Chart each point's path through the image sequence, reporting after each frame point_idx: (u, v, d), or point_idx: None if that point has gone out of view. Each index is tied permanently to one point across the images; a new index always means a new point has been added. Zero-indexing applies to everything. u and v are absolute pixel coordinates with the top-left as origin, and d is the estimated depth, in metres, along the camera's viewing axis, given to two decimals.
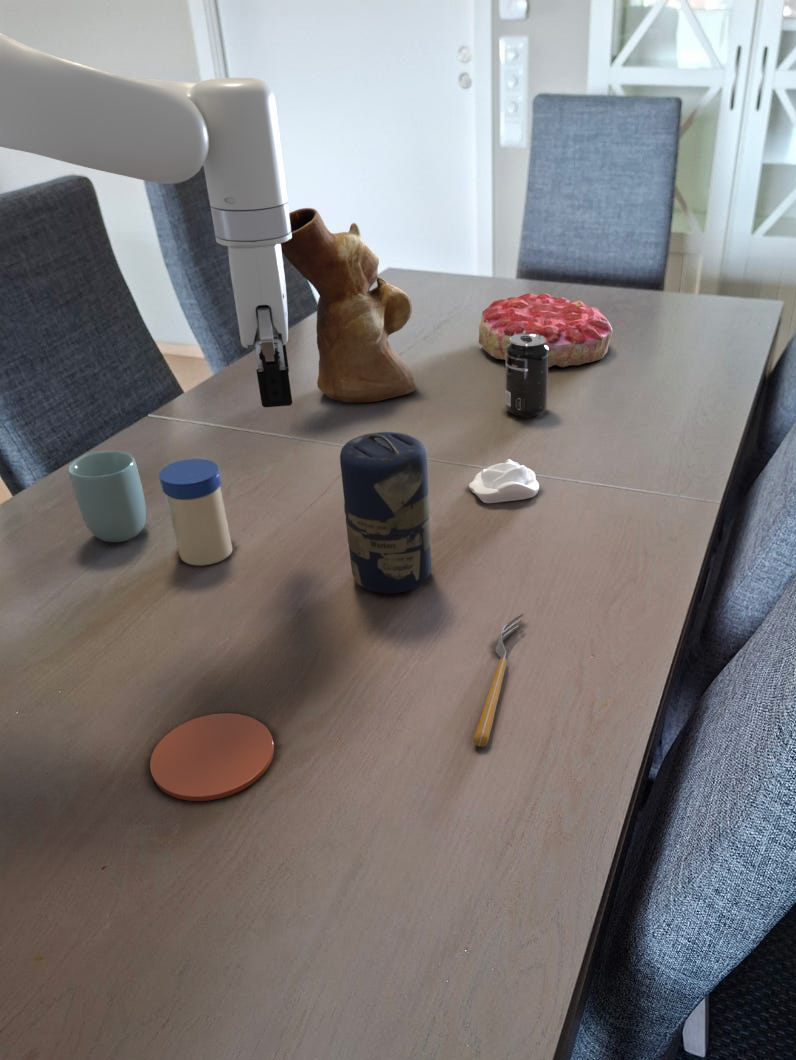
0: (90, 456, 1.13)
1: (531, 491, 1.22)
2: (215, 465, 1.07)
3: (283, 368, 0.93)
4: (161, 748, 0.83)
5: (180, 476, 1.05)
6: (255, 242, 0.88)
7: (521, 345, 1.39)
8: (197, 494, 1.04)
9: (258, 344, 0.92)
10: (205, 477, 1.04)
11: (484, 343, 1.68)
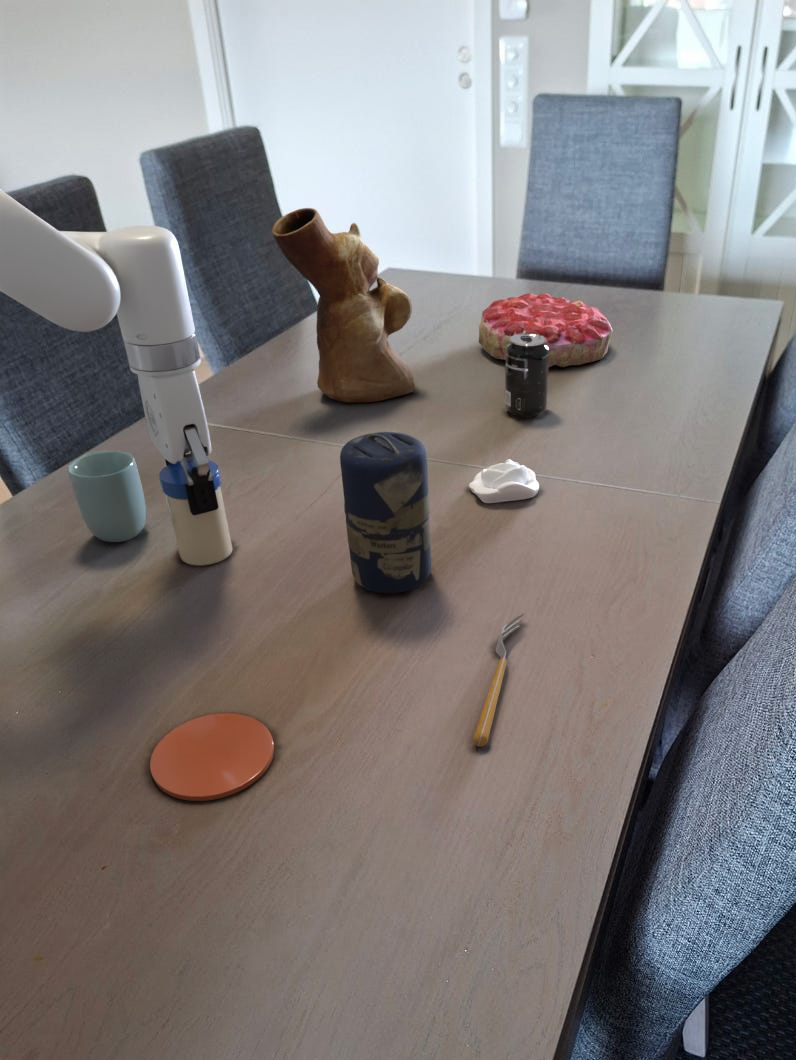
0: (90, 456, 1.13)
1: (531, 491, 1.22)
2: (215, 465, 1.07)
3: (211, 480, 1.03)
4: (161, 748, 0.83)
5: (180, 476, 1.05)
6: (176, 370, 0.96)
7: (521, 345, 1.39)
8: None
9: (185, 461, 1.01)
10: None
11: (484, 343, 1.68)
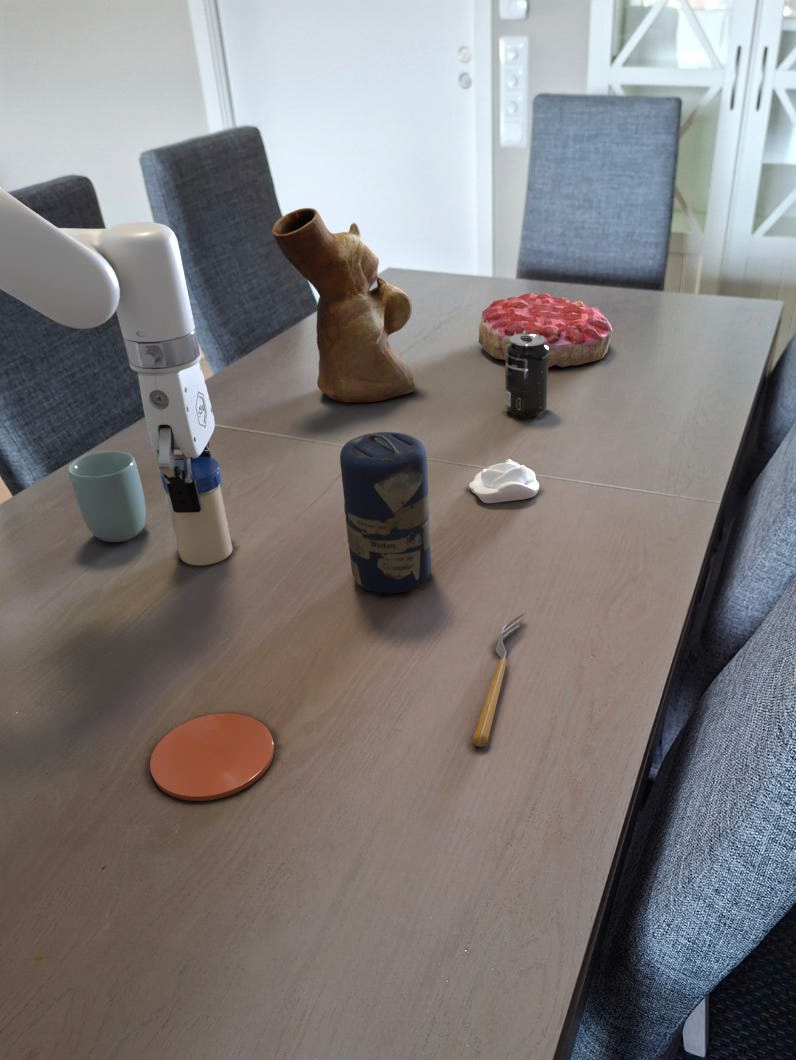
0: (90, 456, 1.13)
1: (531, 491, 1.22)
2: None
3: None
4: (161, 748, 0.83)
5: (201, 464, 1.07)
6: None
7: (521, 345, 1.39)
8: None
9: None
10: None
11: (484, 343, 1.68)
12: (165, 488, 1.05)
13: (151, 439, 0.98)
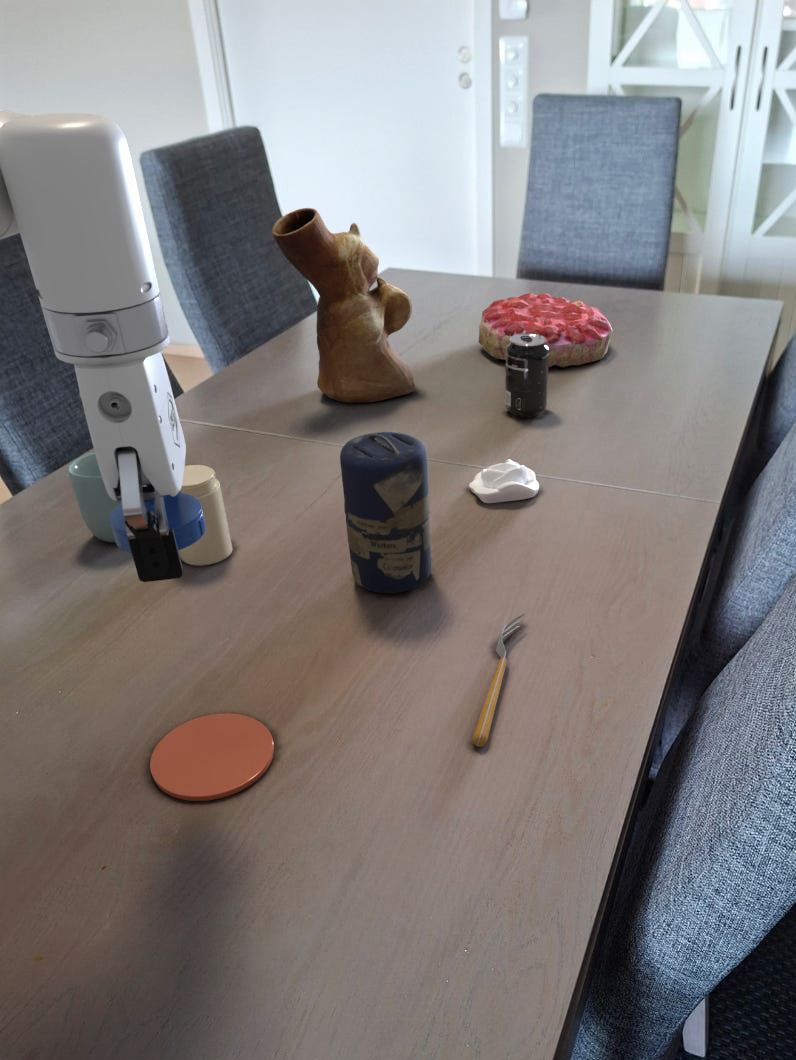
0: (90, 456, 1.13)
1: (531, 491, 1.22)
2: (113, 514, 0.69)
3: None
4: (161, 748, 0.83)
5: (173, 504, 0.70)
6: None
7: (521, 345, 1.39)
8: None
9: None
10: None
11: (484, 343, 1.68)
12: (123, 546, 0.68)
13: (103, 472, 0.62)
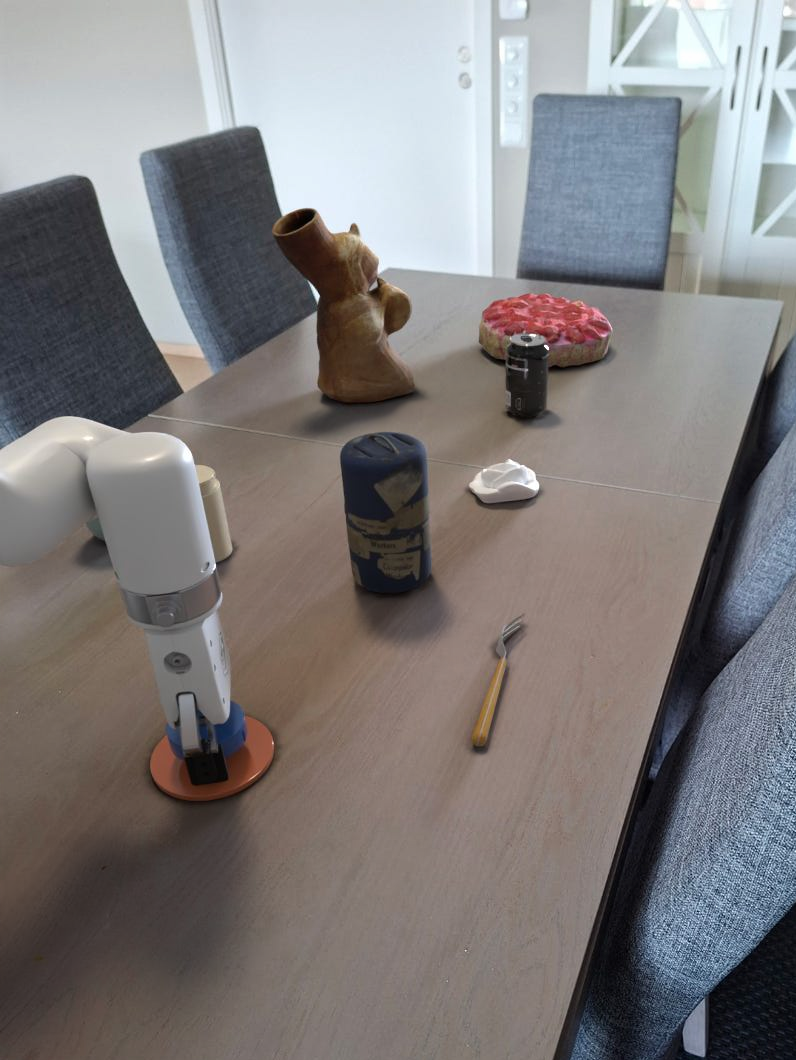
0: None
1: (531, 491, 1.22)
2: None
3: None
4: (161, 748, 0.83)
5: None
6: None
7: (521, 345, 1.39)
8: None
9: None
10: None
11: (484, 343, 1.68)
12: (177, 755, 0.79)
13: (165, 710, 0.73)
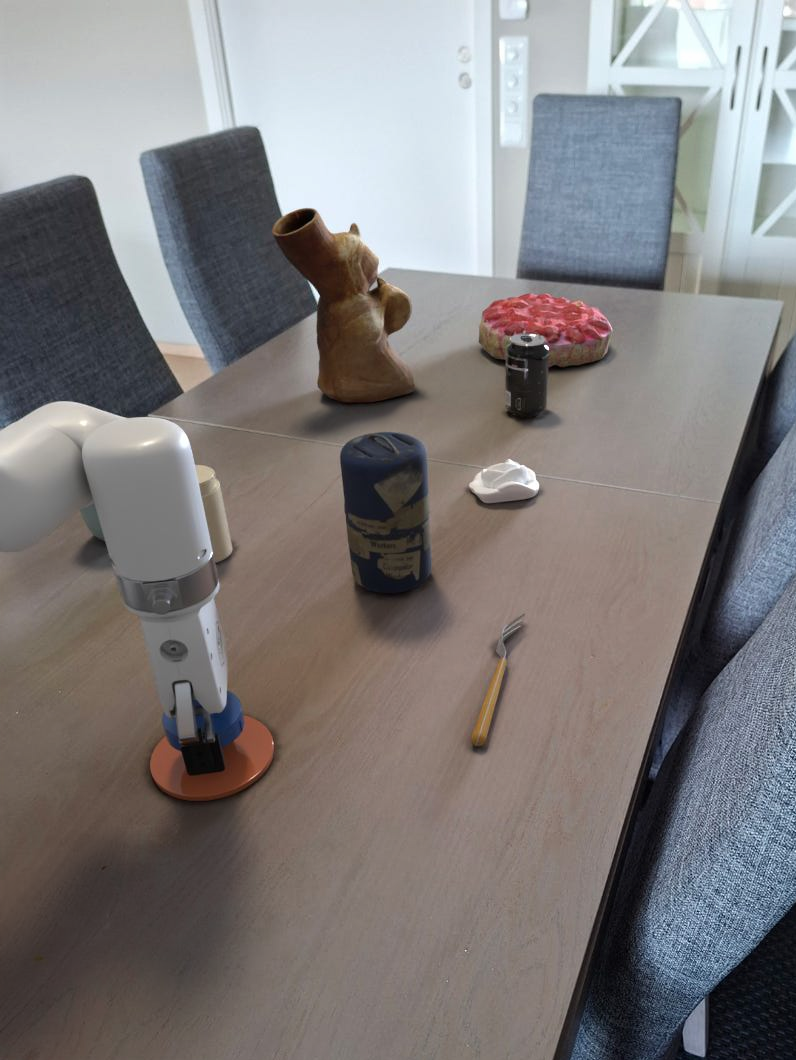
0: None
1: (531, 491, 1.22)
2: None
3: None
4: (161, 748, 0.83)
5: None
6: None
7: (521, 345, 1.39)
8: None
9: None
10: None
11: (484, 343, 1.68)
12: (174, 745, 0.78)
13: (161, 698, 0.72)
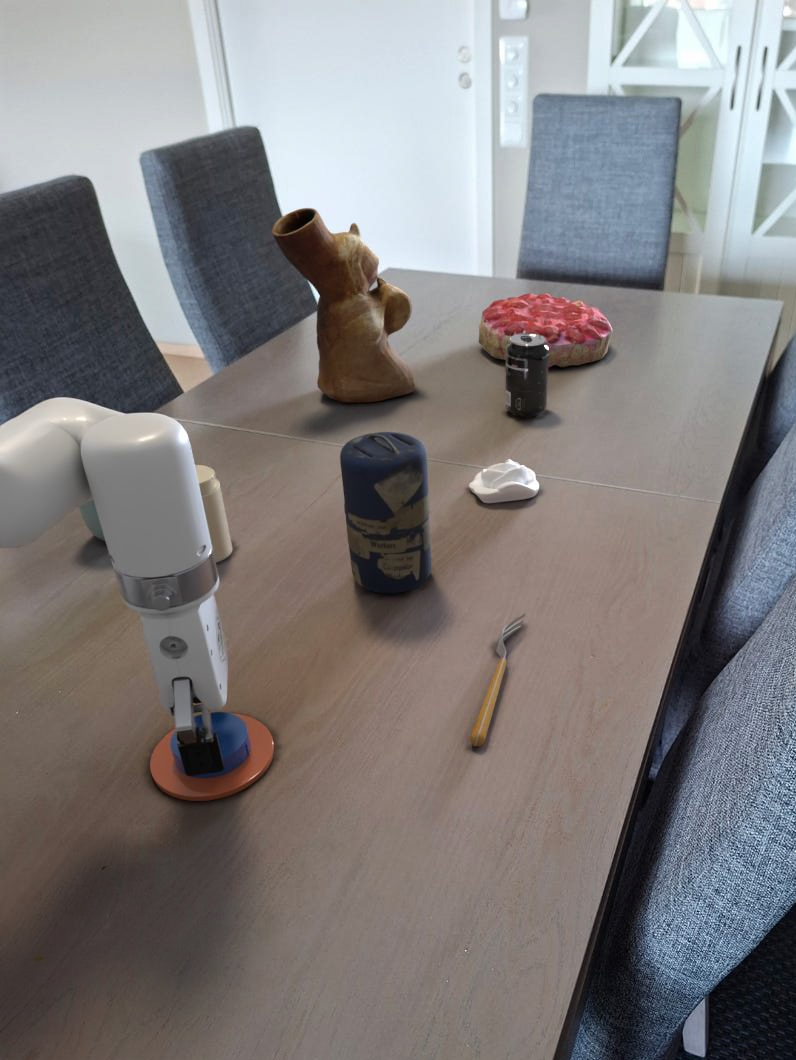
0: None
1: (531, 491, 1.22)
2: (173, 739, 0.81)
3: None
4: (161, 748, 0.83)
5: (223, 728, 0.82)
6: None
7: (521, 345, 1.39)
8: None
9: None
10: (197, 718, 0.83)
11: (484, 343, 1.68)
12: (182, 769, 0.80)
13: (161, 695, 0.72)
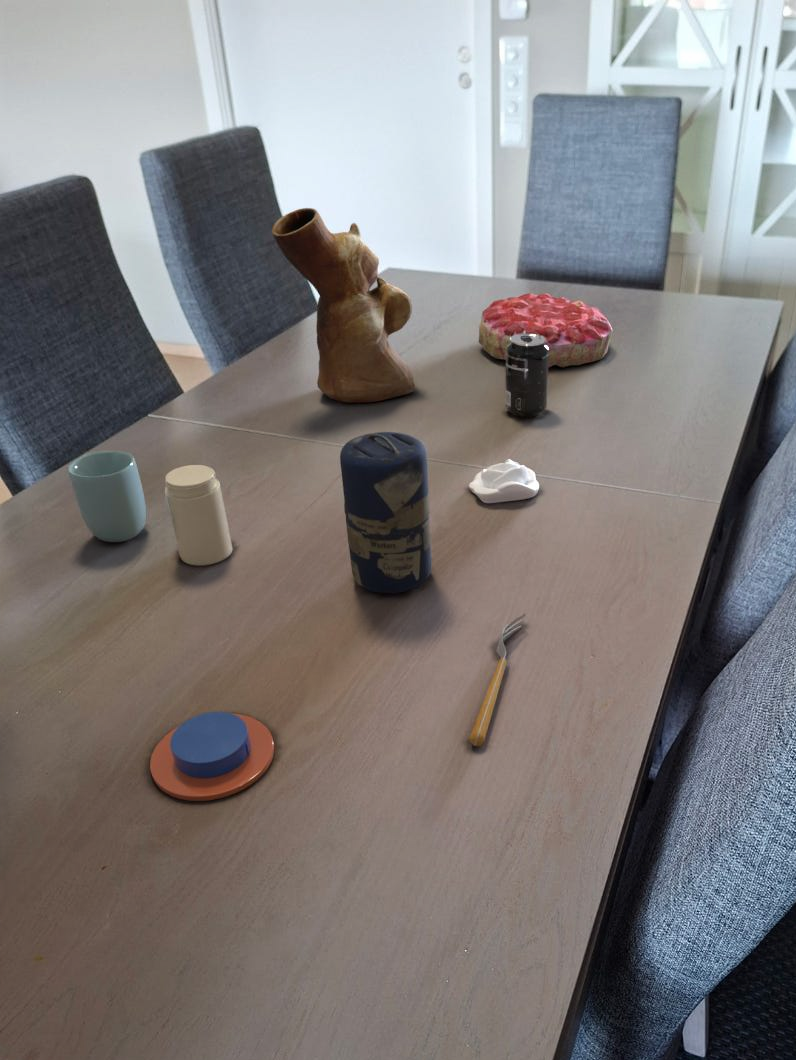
0: (90, 456, 1.13)
1: (531, 491, 1.22)
2: (173, 739, 0.81)
3: None
4: (161, 748, 0.83)
5: (223, 728, 0.82)
6: None
7: (521, 345, 1.39)
8: None
9: None
10: (197, 718, 0.83)
11: (484, 343, 1.68)
12: (182, 769, 0.80)
13: None
